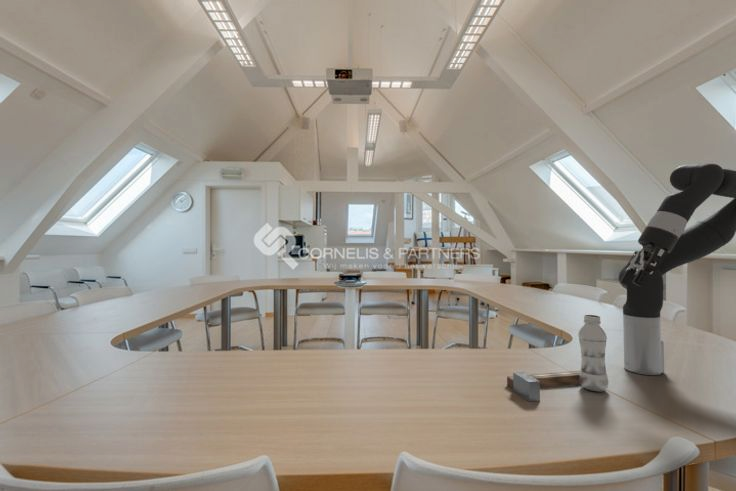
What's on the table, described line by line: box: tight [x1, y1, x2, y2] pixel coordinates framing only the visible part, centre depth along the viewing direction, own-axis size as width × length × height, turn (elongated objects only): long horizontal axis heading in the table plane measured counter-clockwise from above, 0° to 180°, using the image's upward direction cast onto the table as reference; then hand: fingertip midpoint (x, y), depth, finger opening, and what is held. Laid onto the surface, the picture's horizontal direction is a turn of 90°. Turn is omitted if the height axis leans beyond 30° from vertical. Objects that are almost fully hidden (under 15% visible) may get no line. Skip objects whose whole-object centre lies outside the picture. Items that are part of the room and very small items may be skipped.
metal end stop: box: [512, 371, 541, 403], centre depth 93 cm, size 3×7×5 cm, turn 9°
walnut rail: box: [506, 370, 581, 390], centre depth 101 cm, size 28×3×3 cm, turn 99°
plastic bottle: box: [577, 314, 610, 392], centre depth 96 cm, size 6×7×20 cm
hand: (630, 284), depth 96 cm, fingers open, 8 cm apart
